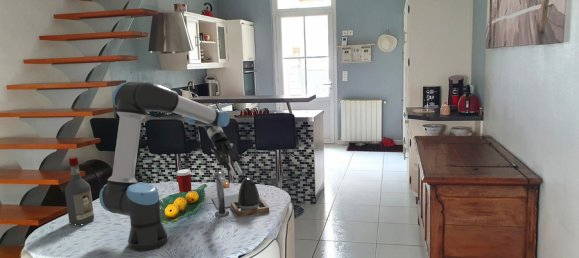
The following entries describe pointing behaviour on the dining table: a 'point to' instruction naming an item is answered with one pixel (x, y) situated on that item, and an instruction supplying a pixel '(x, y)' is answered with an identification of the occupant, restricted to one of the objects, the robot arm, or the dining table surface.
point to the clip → (221, 178)
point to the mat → (226, 200)
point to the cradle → (252, 211)
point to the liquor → (78, 197)
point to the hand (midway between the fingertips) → (237, 174)
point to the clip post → (220, 200)
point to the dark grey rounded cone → (248, 195)
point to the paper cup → (184, 180)
